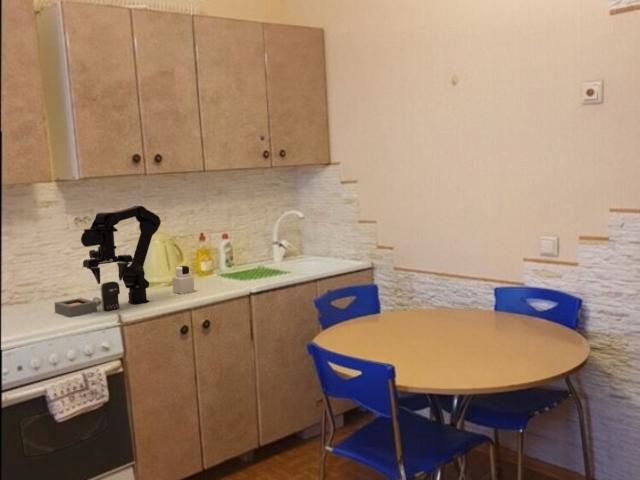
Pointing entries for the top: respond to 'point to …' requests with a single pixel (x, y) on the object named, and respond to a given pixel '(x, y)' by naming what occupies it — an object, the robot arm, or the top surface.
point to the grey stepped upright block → (183, 280)
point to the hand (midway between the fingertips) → (109, 282)
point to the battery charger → (110, 295)
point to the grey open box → (75, 307)
